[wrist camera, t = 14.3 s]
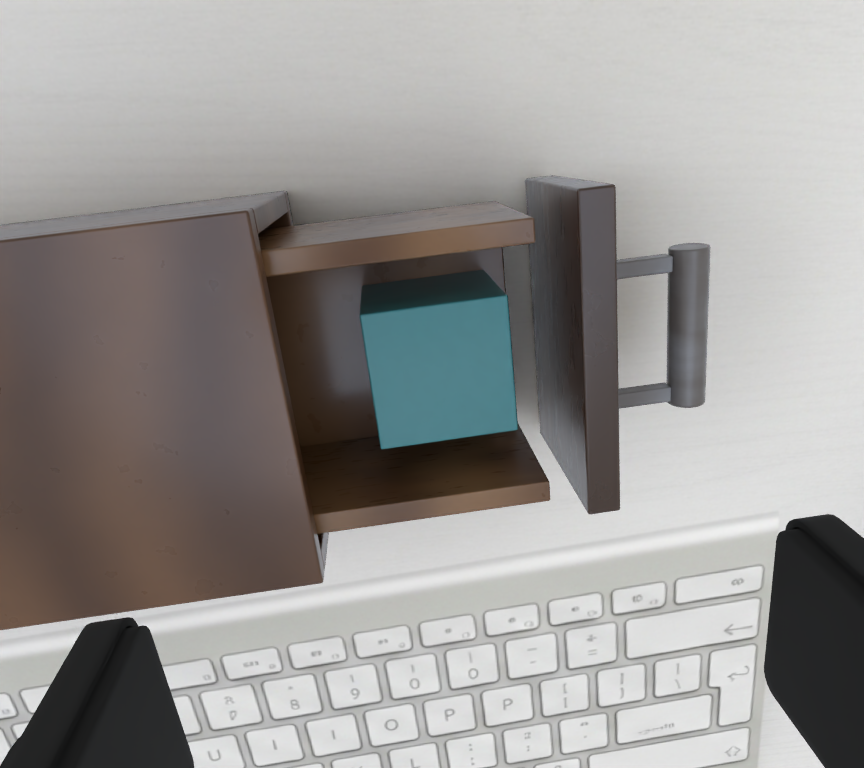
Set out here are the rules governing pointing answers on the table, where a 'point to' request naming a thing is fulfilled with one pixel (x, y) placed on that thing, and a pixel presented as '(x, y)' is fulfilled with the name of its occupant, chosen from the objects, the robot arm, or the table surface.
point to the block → (439, 358)
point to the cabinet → (146, 415)
